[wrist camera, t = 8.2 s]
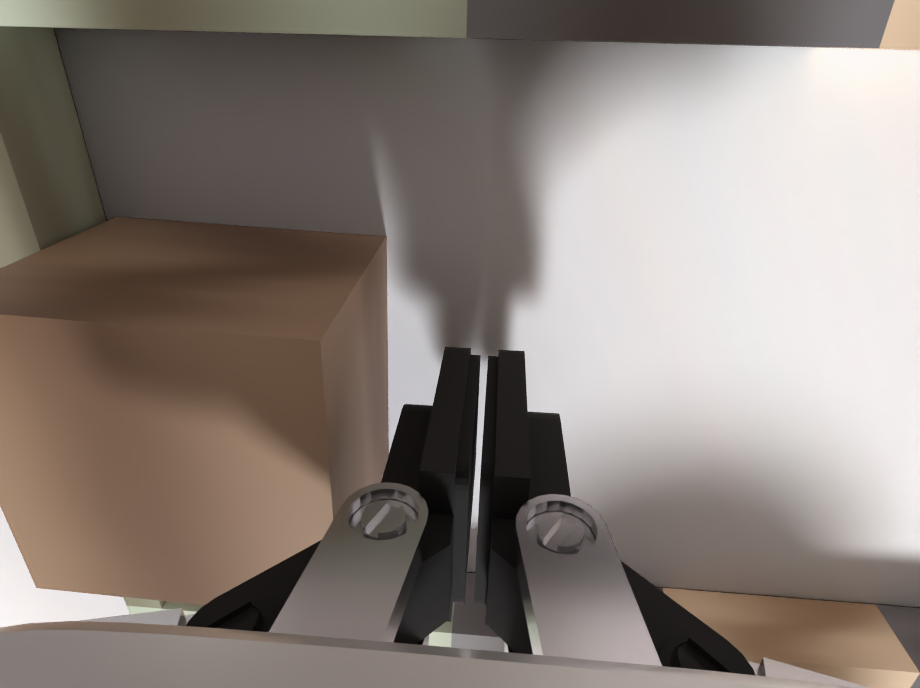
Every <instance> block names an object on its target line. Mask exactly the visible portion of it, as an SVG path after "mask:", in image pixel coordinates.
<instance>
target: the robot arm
mask: <svg viewBox="0 0 920 688" xmlns="http://www.w3.org/2000/svg"><path fill="white" fill-rule="evenodd" d="M479 375H480V355H471V348H456V347H445V350H444V355H443V360H442V364H441V369H440V374H439V379H438V384H437V388H436V393H435V398H434V403H433V406H427V405H411V404H405V405H404V406H403V408H402V411H401V415H400V418H399V422H398V425H397V429H396V432H395V435H394V439H393V442H392V446H391V449H390V453H389V456H388V460H387V463H386V466H385V470H384V473H383V477H382V480H381V483H377V484H371V485H369V486H366V487H363V488H361V489H359V490H357V491H356V492H354V493H353V494H351V495H350V496H349V497H348V498H347V499H346V501H345V502H344V503H343V504H342V506H341V507H340V509H339V511H338V512H337V514H336V516H335V518H334V519H333V521H332V523H331V525H330V526H329V528H328V530H327V532H326V533H325V535H324V537H323V539H322V540H320V541H318V542H317V543H315V544H313V545H311V546H309V547H307V548H306V549H304V550H302V551H300V552H298V553H296V554H295V555H293V556H291V557H289V558H287V559H285V560H284V561H282V562H280V563H278V564H276V565H275V566H273V567H271V568H269V569H267V570H265V571H264V572H262V573H260V574H258V575H256V576H254V577H253V578H251V579H249V580H247V581H245V582H243V583H242V584H240V585H238V586H236V587H234V588H232V589H231V590H229V591H227V592H225V593H223V594H221V595H220V596H218V597H216V598H214V599H213V600H211V601H210V602H209V603H207V604H206V605H204V606H203V607H201V608H200V609H199V610H198V611H197V612H196V613H195V614H191V615H184V612H183V608H178V609H170V610H162V611H154V612H146V613H138V614H130V615H122V616H114V617H106V618H98V619H90V620H82V621H66V622H46V623H29V624H22V625H15V626H8V627H1V628H0V688H869V687H866V686H862V685H859V684H855V683H852V682H848V681H845V680H841V679H838V678H834V677H831V676H827V675H824V674H820V673H817V672H813V671H810V670H807V669H803V668H800V667H796V666H793V665H789V664H786V663H782V662H779V661H775V660H772V659H768V658H765V657H763V659H762V661H761V663H760V664H757V663H754V662H750V661H747V659H746V658H745V657H744V655H743V654H742V653H741V652H740V651H739V650H738V649H737V648H736V647H734V646H733V645H732V644H731V643H730V642H729V641H728V640H726V639H725V638H724V637H722V636H721V635H720V634H718V633H717V632H716V631H714V630H713V629H712V628H710V627H709V626H708V625H706V624H705V623H704V622H702V621H701V620H700V619H698V618H697V617H696V616H694V615H693V614H691V613H690V612H689V611H687V610H686V609H685V608H683V607H682V606H681V605H679V604H678V603H677V602H675V601H674V600H673V599H671V598H670V597H669V596H667V595H666V594H665V593H663V592H662V591H661V590H659V589H658V588H657V587H655V586H654V585H652V584H651V583H650V582H648V581H647V580H646V579H644V578H643V577H642V576H640V575H639V574H638V573H636V572H635V571H634V570H632V569H631V568H630V567H628V566H627V565H626V564H624V563H623V562H622V561H620V559H619V556H618V554H617V551H616V549H615V546H614V544H613V541H612V539H611V536H610V534H609V531H608V529H607V526H606V524H605V522H604V521H603V519H602V517H601V516H600V514H599V513H598V512H597V511H596V510H594V509H593V508H592V507H591V506H590V505H588V504H586V503H585V502H583V501H581V500H579V499H577V498H573V497H571V494H570V487H569V480H568V472H567V465H566V457H565V450H564V443H563V435H562V428H561V421H560V416H559V414H556V413H540V412H527V394H526V374H525V354H524V351H509V350H499V354H498V357H497V356H488V370H487V385H486V400H485V416H484V431H483V446H482V462H481V478H480V497H479V516H478V535H477V555H476V574H475V594H474V604H479V605H486V610H485V625H488V626H489V627H490V628H491V629H492V630H493V631H494V632H495V633H496V634H497V635H498V636H499V637H500V638H501V639H502V640H503V641H504V652H499V651H487V650H476V649H464V648H453V647H441V646H429V645H428V642H429V634H430V633H432V632H433V631H434V630H436V629H437V628H438V627H440V626H441V625H443V624H444V623H445V622H447V621H448V622H451V618H452V608H453V602H454V603H464V601H465V590H466V577H467V564H468V552H469V539H470V527H471V514H472V501H473V489H474V476H475V461H476V441H477V419H478V397H479Z"/></svg>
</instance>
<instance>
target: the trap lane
mask: <svg viewBox="0 0 920 688" xmlns="http://www.w3.org/2000/svg"><path fill="white" fill-rule="evenodd" d="M53 28H84V29H123V30H163V31H202V32H241V33H280V34H319V35H358V36H397V37H436V38H475V39H515V40H554V41H593V42H632V43H671V44H710V45H749V46H788V47H827V48H866V49H906V50H920V0H0V268H2V267H4V266H7V265H9V264H11V263H13V262H16V261H18V260H20V259H22V258H25V257H27V256H29V255H32V254H34V253H36V252H38V251H41V250H43V249H45V248H47V247H50V246H52V245H54V244H56V243H59V242H61V241H63V240H65V239H68V238H70V237H72V236H74V235H77V234H79V233H81V232H83V231H86V230H88V229H90V228H92V227H95V226H97V225H99V224H102V223H104V222H106V219H105V215H104V211H103V208H102V204H101V200H100V197H99V193H98V189H97V186H96V182H95V179H94V175H93V171H92V168H91V164H90V160H89V157H88V153H87V149H86V146H85V142H84V139H83V135H82V131H81V128H80V124H79V120H78V117H77V113H76V109H75V106H74V102H73V99H72V95H71V91H70V88H69V84H68V80H67V77H66V73H65V69H64V66H63V62H62V59H61V55H60V51H59V48H58V44H57V40H56V37H55V33H54V29H53ZM475 574H476V573H467V577H466V590H465V601H464V603H454V602H453V608H452V618H451V622H448V621H447V622H445V623H444V624H443V625H441V626H440V627H438V628H437V629H436V630H434V631H433V632H432V633H430V634H429V642H428V645H429V646H441V647H453V648H464V649H476V650H487V651H499V652H504V641H503V640H502V639H501V638H500V637H499V636H498V635H497V634H496V633H495V632H494V631H493V630H492V629H491V628H490V627H489V626H488V625H485V610H486V605H479V604H474V594H475ZM657 588H658V587H657ZM658 589H659V590H661V591H662V592H663V593H665V594H666V595H667V596H669V597H670V598H671V599H673V600H674V601H675V602H677V603H678V604H679V605H681V606H682V607H683V608H685V609H686V610H687V611H689V612H690V613H691V614H693V615H694V616H696V617H697V618H698V619H700V620H701V621H702V622H704V623H705V624H706V625H708V626H709V627H710V628H712V629H713V630H714V631H716V632H717V633H718V634H720V635H721V636H722V637H724V638H725V639H726V640H728V641H729V642H730V643H731V644H732V645H733V646H734V647H736V648H737V649H738V650H739V651H740V652H741V653H742V654H743V655H744V657H745V658H746V659H747V661H750V662H754V663H757V664H760V663H761V661H762V659H763V657H765V658H768V659H772V660H775V661H779V662H782V663H786V664H789V665H793V666H796V667H800V668H803V669H807V670H810V671H813V672H817V673H820V674H824V675H827V676H831V677H834V678H838V679H841V680H845V681H848V682H852V683H855V684H859V685H862V686H866V687H869V688H920V608H912V607H900V606H887V605H874V604H861V603H849V602H836V601H823V600H811V599H798V598H785V597H772V596H760V595H747V594H734V593H721V592H709V591H696V590H683V589H671V588H658ZM124 600H125V602H126V605H127V608H128V610H129V613H130V614H138V613H146V612H154V611H162V610H170V609H178V608H183V612H184V615H191V614H195V613H196V612H197V611H198V610H199V609H200V608H201V607H203V606H204V605H197V604H187V603H178V602H168V601H158V600H149V599H139V598H130V597H124Z"/></svg>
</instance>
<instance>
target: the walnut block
mask: <svg viewBox="0 0 920 688" xmlns="http://www.w3.org/2000/svg"><path fill="white" fill-rule="evenodd" d="M388 456H389V444H388V341H387V237H386V236H372V235H359V234H345V233H331V232H318V231H304V230H291V229H277V228H264V227H250V226H237V225H223V224H210V223H196V222H183V221H169V220H156V219H142V218H129V217H115V218H113V219H111V220H108V221H106V222H104V223H102V224H99V225H97V226H95V227H92V228H90V229H88V230H86V231H83V232H81V233H79V234H77V235H74V236H72V237H70V238H68V239H65V240H63V241H61V242H59V243H56V244H54V245H52V246H50V247H47V248H45V249H43V250H41V251H38V252H36V253H34V254H32V255H29V256H27V257H25V258H22V259H20V260H18V261H16V262H13V263H11V264H9V265H7V266H4V267H2V268H0V506H1V508H2V511H3V513H4V515H5V517H6V520H7V522H8V524H9V527H10V529H11V531H12V533H13V536H14V538H15V540H16V542H17V545H18V547H19V549H20V551H21V554H22V556H23V558H24V561H25V563H26V565H27V567H28V570H29V572H30V574H31V576H32V579H33V581H34V583H35V585H36V588H43V589H53V590H62V591H72V592H82V593H91V594H101V595H110V596H120V597H130V598H139V599H149V600H158V601H168V602H178V603H187V604H197V605H206V604H207V603H209V602H210V601H211V600H213V599H214V598H216V597H218V596H220V595H221V594H223V593H225V592H227V591H229V590H231V589H232V588H234V587H236V586H238V585H240V584H242V583H243V582H245V581H247V580H249V579H251V578H253V577H254V576H256V575H258V574H260V573H262V572H264V571H265V570H267V569H269V568H271V567H273V566H275V565H276V564H278V563H280V562H282V561H284V560H285V559H287V558H289V557H291V556H293V555H295V554H296V553H298V552H300V551H302V550H304V549H306V548H307V547H309V546H311V545H313V544H315V543H317V542H318V541H320V540H322V539H323V537H324V535H325V533H326V532H327V530H328V528H329V526H330V525H331V523H332V521H333V519H334V518H335V516H336V514H337V512H338V511H339V509H340V507H341V506H342V504H343V503H344V502H345V501H346V499H347V498H348V497H349V496H350V495H351V494H353V493H354V492H356V491H357V490H359V489H361V488H363V487H366V486H369V485H371V484H377V483H381V480H382V476H383V473H384V469H385V466H386V462H387V459H388Z"/></svg>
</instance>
